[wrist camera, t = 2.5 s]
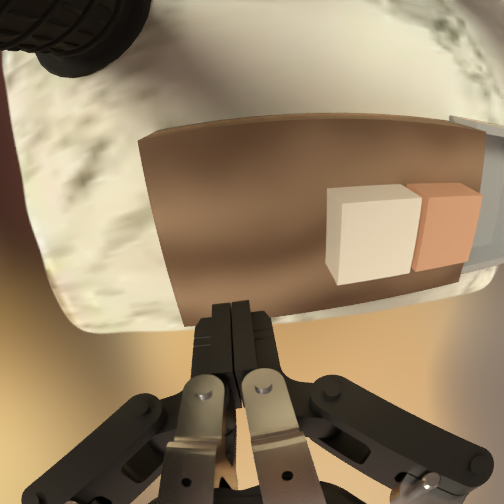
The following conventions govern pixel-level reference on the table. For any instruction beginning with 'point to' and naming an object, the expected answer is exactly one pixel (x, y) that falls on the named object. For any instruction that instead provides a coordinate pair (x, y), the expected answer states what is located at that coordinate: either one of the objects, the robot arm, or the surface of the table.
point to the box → (488, 200)
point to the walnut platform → (287, 202)
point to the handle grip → (72, 31)
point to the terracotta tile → (445, 224)
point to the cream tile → (370, 231)
